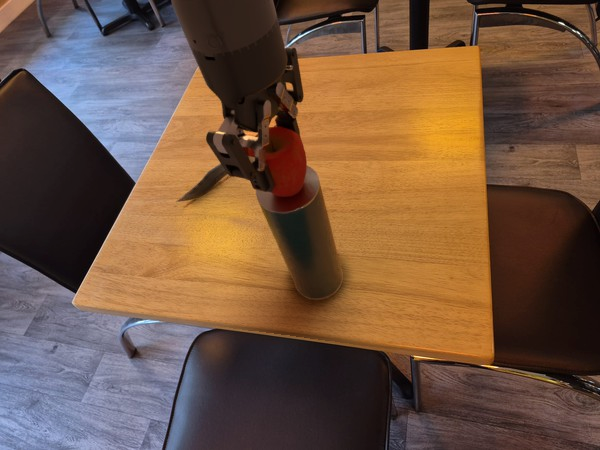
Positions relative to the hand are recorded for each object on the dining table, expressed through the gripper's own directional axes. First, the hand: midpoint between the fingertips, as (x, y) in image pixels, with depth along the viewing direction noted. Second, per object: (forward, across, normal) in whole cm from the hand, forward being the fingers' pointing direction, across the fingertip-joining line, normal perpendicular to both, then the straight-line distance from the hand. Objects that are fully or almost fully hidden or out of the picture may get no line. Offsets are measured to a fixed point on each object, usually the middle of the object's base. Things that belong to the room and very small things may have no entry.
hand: (279, 165), depth 48 cm
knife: (+26, -16, -25) cm, 39 cm away
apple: (+4, 0, 0) cm, 4 cm away
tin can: (+26, 0, 0) cm, 26 cm away
